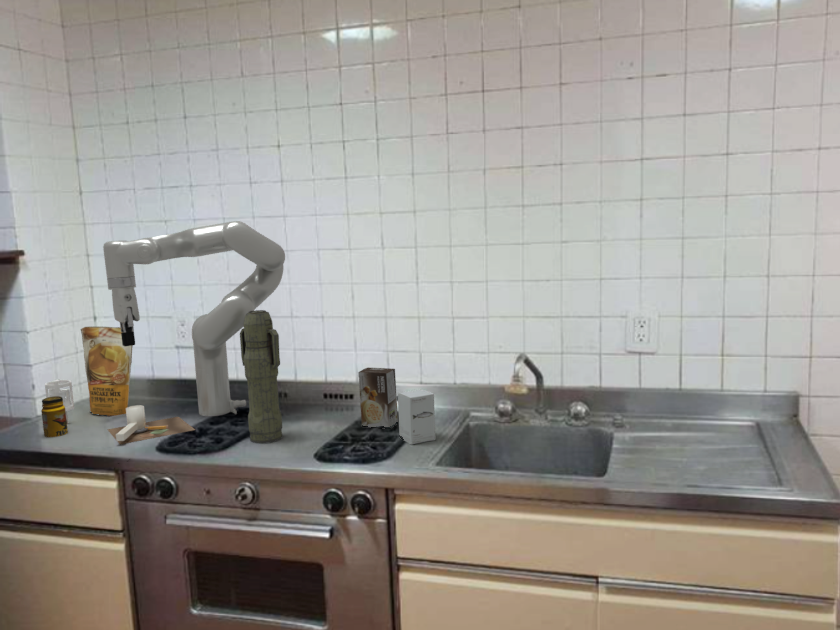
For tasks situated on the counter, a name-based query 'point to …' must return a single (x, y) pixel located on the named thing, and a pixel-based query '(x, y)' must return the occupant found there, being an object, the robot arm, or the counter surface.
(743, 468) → the counter surface
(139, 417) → the white handled piece
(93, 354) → the pancake mix bag
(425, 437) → the supplement box
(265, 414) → the thermos
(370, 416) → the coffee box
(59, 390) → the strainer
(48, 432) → the condiment
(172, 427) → the brown square board
